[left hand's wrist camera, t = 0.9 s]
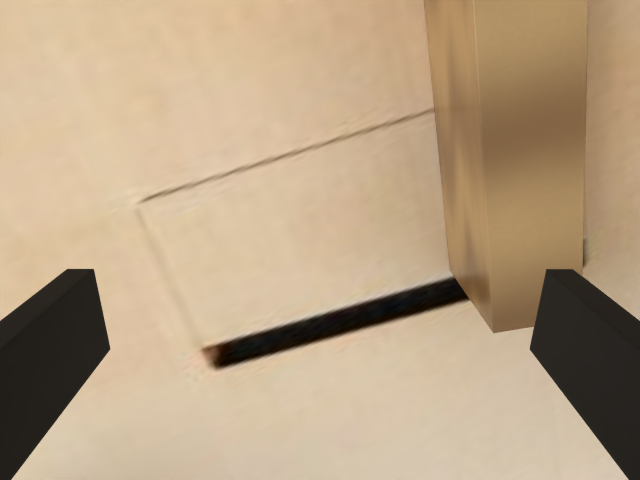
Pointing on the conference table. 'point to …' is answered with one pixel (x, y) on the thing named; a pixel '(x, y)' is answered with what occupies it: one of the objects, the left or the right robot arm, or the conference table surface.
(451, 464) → the conference table surface
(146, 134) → the conference table surface
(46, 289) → the left robot arm
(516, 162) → the bar
